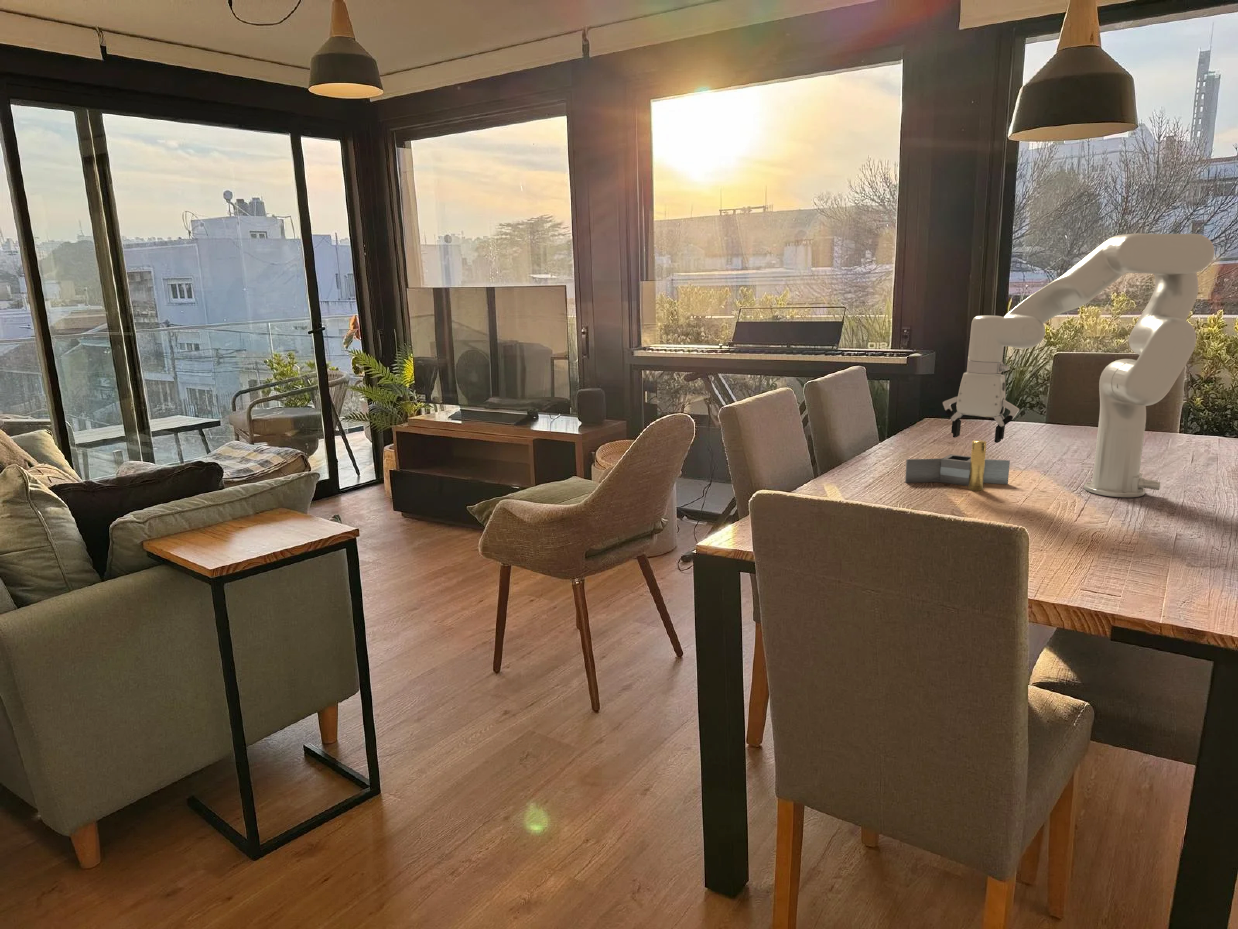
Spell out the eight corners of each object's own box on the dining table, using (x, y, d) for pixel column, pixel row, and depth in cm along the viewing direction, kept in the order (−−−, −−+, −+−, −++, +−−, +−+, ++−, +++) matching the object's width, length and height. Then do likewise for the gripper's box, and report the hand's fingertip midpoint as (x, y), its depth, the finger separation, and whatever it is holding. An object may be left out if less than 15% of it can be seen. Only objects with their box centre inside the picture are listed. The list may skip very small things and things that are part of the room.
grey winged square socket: (1008, 483, 210) (1010, 460, 209) (993, 494, 200) (995, 470, 199) (922, 472, 223) (923, 450, 222) (904, 482, 213) (905, 459, 212)
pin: (984, 489, 206) (988, 440, 203) (980, 491, 203) (984, 443, 200) (970, 487, 207) (974, 439, 205) (966, 489, 205) (970, 441, 202)
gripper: (1027, 369, 196) (1018, 441, 200) (951, 364, 207) (945, 432, 211) (1018, 372, 191) (1010, 446, 194) (941, 366, 201) (935, 437, 205)
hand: (976, 439), depth 203 cm, fingers open, 9 cm apart
